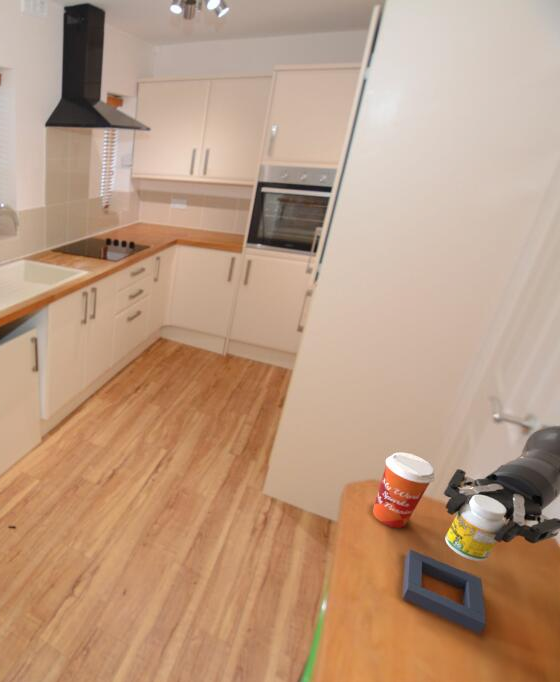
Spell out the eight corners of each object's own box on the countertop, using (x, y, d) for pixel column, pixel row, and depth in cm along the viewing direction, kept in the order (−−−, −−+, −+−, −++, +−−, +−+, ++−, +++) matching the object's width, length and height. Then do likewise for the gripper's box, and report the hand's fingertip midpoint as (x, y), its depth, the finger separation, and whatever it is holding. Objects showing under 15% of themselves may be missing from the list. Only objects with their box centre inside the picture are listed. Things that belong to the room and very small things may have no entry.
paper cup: (361, 515, 94) (382, 462, 88) (373, 497, 98) (394, 445, 92) (406, 539, 89) (432, 483, 82) (417, 518, 93) (442, 465, 87)
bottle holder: (475, 588, 79) (481, 578, 78) (479, 634, 72) (486, 624, 71) (405, 558, 85) (409, 548, 84) (402, 598, 77) (407, 588, 76)
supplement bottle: (493, 566, 71) (520, 522, 67) (450, 556, 73) (475, 511, 69) (478, 540, 76) (503, 496, 71) (439, 530, 77) (461, 487, 73)
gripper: (571, 531, 73) (523, 575, 66) (464, 476, 85) (414, 509, 77) (595, 496, 70) (548, 538, 63) (480, 443, 81) (429, 474, 74)
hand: (474, 522), depth 70 cm, fingers closed on supplement bottle, 5 cm apart
